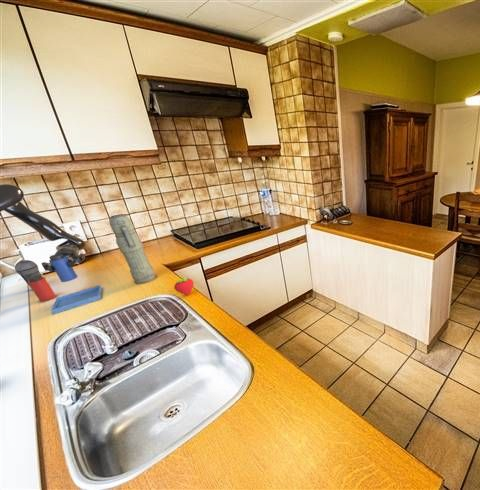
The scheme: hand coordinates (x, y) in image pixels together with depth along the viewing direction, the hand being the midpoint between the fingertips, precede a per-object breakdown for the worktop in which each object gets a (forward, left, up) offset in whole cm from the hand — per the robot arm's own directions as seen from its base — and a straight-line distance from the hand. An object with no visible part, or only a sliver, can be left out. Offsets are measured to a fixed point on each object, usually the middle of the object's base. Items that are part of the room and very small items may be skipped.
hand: (60, 267), depth 116 cm
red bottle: (-12, +15, -18) cm, 26 cm away
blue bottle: (0, +3, -7) cm, 7 cm away
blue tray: (0, +1, -18) cm, 18 cm away
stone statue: (+25, +2, -18) cm, 30 cm away
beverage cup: (-18, +35, -18) cm, 43 cm away
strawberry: (+39, -32, -18) cm, 54 cm away
